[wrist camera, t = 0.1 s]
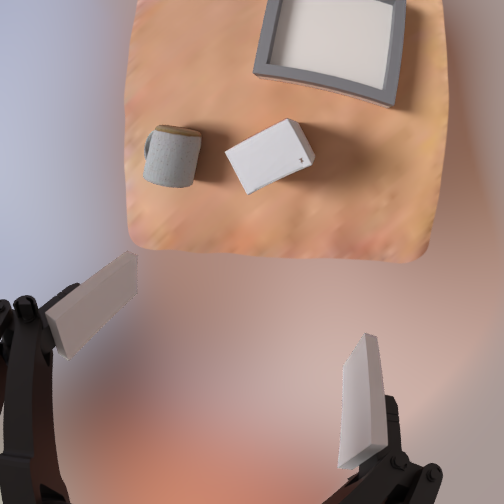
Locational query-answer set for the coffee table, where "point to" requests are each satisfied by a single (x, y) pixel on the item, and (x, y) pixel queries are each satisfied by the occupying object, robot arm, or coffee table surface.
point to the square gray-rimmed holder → (334, 46)
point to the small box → (271, 155)
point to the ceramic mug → (171, 156)
